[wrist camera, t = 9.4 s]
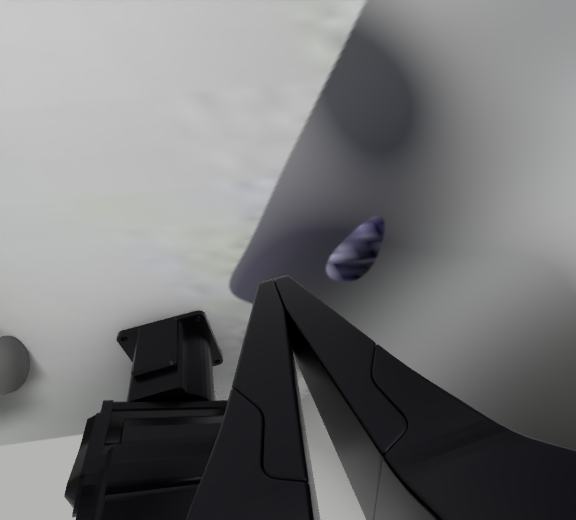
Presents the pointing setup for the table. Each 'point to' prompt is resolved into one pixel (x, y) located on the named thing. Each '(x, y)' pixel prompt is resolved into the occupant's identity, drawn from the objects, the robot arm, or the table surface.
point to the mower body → (12, 364)
